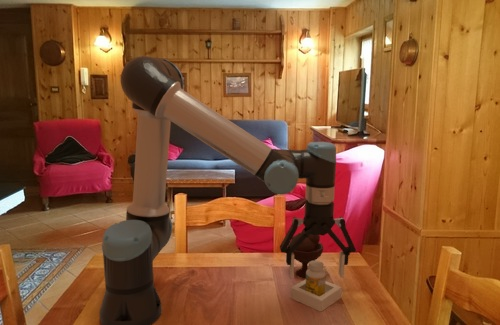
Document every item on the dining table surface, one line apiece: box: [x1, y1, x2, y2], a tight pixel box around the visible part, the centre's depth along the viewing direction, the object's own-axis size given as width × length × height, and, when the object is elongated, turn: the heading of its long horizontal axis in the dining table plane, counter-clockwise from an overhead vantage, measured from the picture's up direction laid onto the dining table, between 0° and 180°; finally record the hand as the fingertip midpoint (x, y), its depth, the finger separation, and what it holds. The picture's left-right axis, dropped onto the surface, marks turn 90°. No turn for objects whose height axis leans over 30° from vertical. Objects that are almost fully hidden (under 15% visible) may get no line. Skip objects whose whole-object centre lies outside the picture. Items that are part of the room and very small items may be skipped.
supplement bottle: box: [305, 260, 327, 296], centre depth 114 cm, size 5×5×10 cm
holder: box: [290, 278, 343, 312], centre depth 115 cm, size 10×10×3 cm
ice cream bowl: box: [288, 232, 324, 279], centre depth 128 cm, size 11×11×15 cm
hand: (316, 275), depth 114 cm, fingers open, 13 cm apart
